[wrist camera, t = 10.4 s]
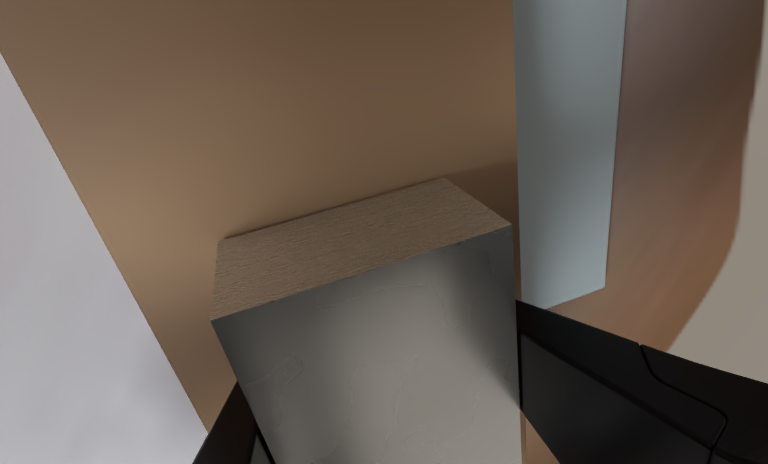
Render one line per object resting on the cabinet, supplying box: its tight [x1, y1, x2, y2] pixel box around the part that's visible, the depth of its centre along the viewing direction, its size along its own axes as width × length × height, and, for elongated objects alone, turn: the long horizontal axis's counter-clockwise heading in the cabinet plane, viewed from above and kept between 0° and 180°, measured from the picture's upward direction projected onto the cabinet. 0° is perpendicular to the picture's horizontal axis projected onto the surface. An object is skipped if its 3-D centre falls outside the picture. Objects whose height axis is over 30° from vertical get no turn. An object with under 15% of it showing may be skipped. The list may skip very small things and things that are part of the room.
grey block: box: [210, 177, 522, 464], centre depth 9 cm, size 6×4×2 cm
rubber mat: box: [513, 0, 627, 309], centre depth 13 cm, size 10×5×1 cm, turn 10°
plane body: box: [0, 0, 527, 464], centre depth 11 cm, size 16×8×3 cm, turn 10°
